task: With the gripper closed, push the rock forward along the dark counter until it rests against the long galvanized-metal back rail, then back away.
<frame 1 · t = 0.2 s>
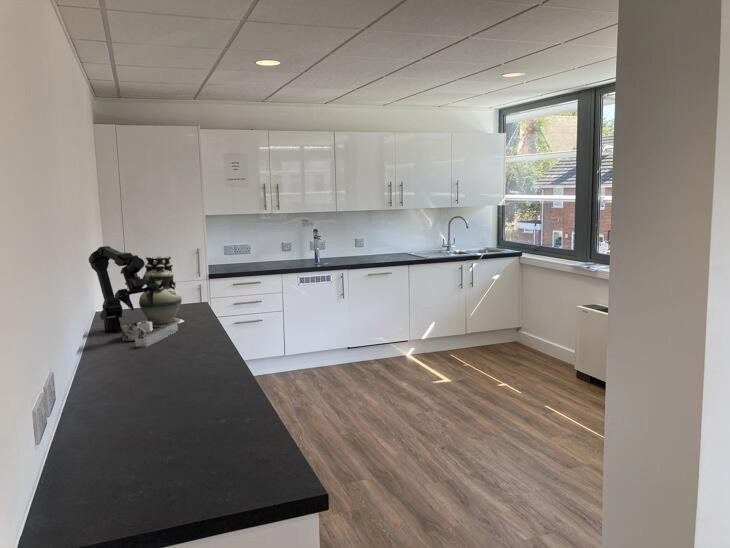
hand: (142, 308, 272), 14 cm above the counter, tool tilted 30°, fingers open, 9 cm apart
decorative urn: (162, 323, 309), on the counter
rock: (134, 339, 276), on the counter
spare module: (145, 331, 290), on the counter
bracket: (151, 338, 274), on the counter
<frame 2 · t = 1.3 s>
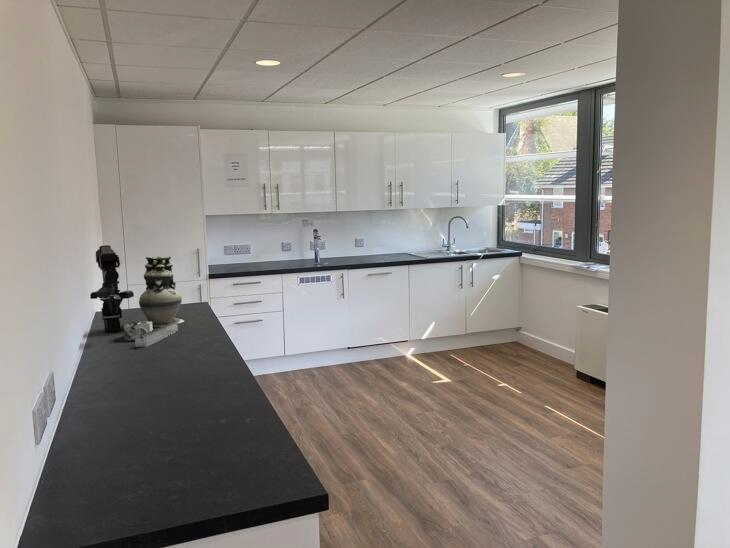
hand: (113, 313, 276), 12 cm above the counter, tool pointing down, fingers closed
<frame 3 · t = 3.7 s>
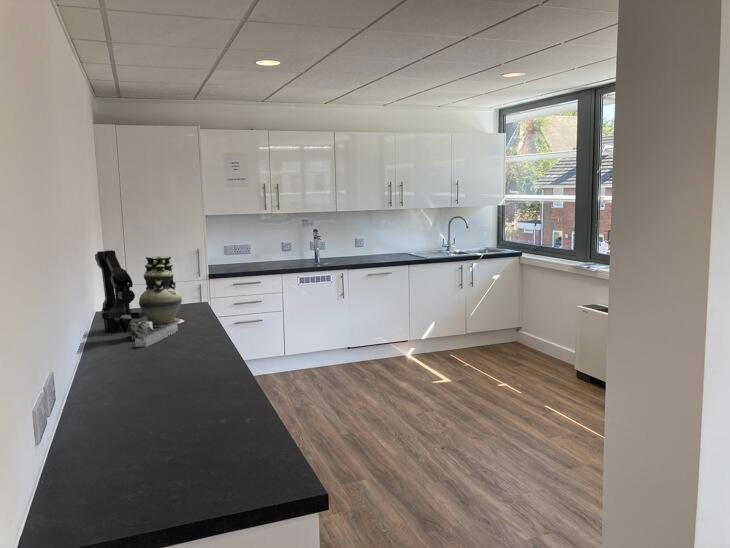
hand: (125, 332, 276), 3 cm above the counter, tool pointing down, fingers closed
rock: (143, 337, 278), on the counter, touching gripper
everything else where it was.
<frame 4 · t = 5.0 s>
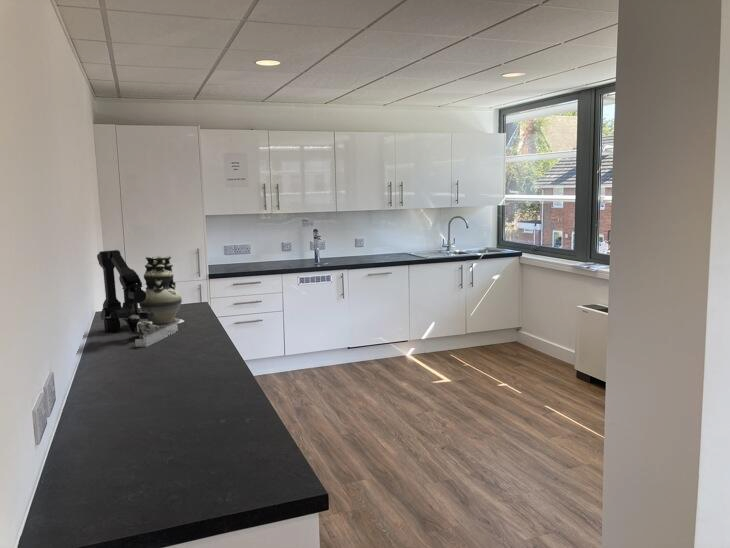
hand: (133, 332, 275), 3 cm above the counter, tool pointing down, fingers closed
rock: (150, 337, 278), on the counter, touching bracket, gripper
everything else where it was.
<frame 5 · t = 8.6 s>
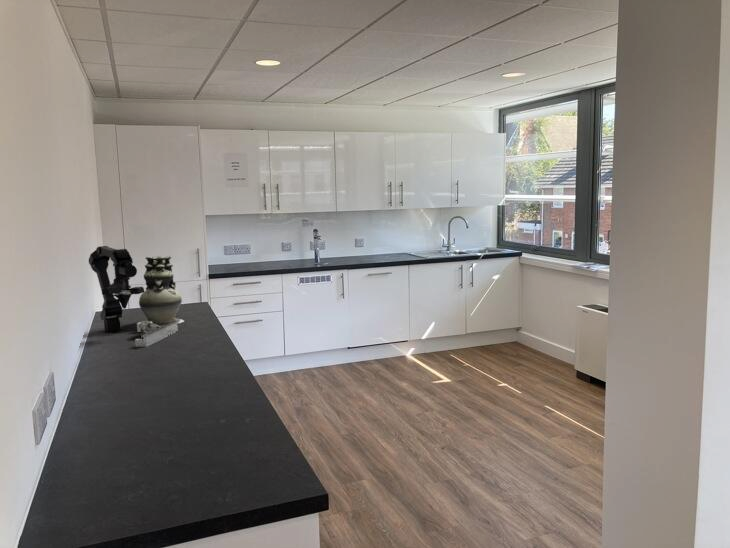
hand: (124, 308, 281), 13 cm above the counter, tool pointing down, fingers closed
rock: (152, 336, 280), on the counter
everything else where it was.
at the end: rock inside the target area on the bracket (5.3 cm from its centre), point 0.0 cm above the bracket's base; rock moved 8.3 cm from its start; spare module moved 0.1 cm from its start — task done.
